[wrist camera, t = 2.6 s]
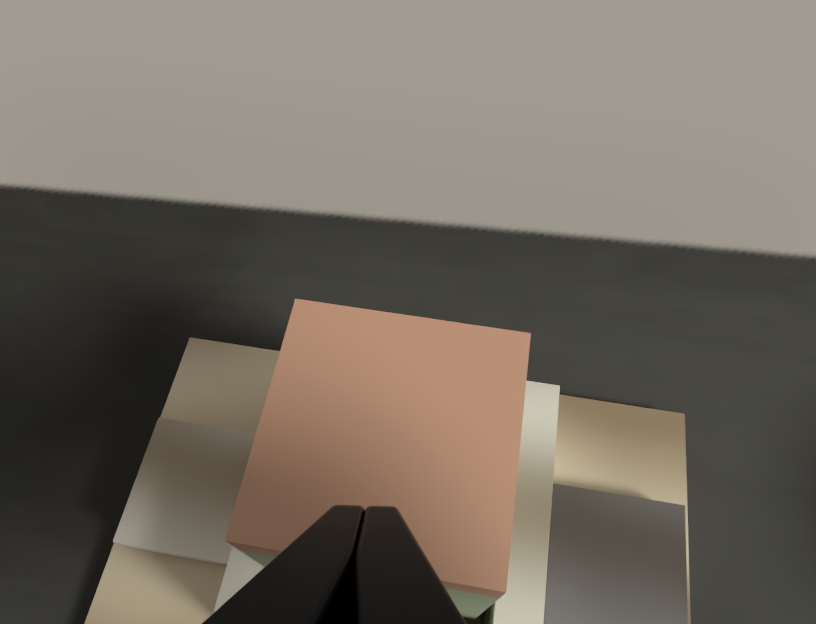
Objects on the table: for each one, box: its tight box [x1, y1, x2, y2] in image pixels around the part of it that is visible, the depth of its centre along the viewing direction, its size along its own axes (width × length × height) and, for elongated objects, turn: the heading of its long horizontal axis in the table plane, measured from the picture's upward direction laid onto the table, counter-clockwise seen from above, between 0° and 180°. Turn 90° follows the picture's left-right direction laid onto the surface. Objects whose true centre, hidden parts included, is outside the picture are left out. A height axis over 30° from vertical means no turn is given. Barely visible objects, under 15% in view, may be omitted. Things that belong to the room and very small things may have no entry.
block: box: [225, 299, 531, 621], centre depth 15 cm, size 5×5×8 cm
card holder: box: [84, 337, 691, 624], centre depth 20 cm, size 11×18×5 cm, turn 80°
